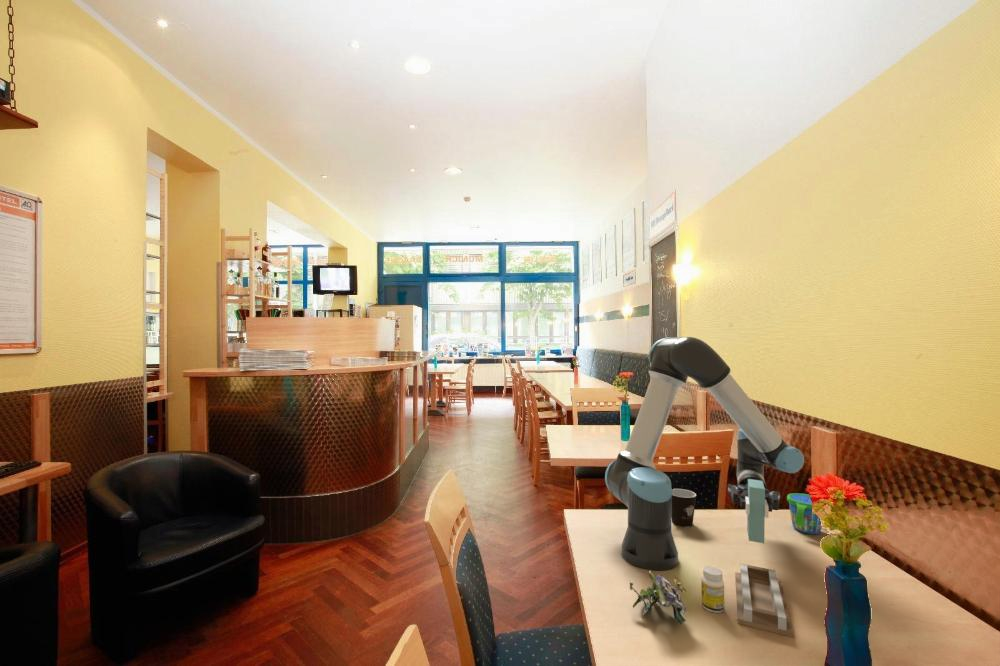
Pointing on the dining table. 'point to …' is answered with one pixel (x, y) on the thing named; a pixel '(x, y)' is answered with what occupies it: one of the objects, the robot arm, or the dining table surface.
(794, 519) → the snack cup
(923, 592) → the dining table surface
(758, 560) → the dining table surface
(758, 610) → the track
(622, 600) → the dining table surface
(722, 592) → the supplement bottle
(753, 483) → the teal rectangular block
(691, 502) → the coffee mug
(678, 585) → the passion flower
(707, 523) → the dining table surface
